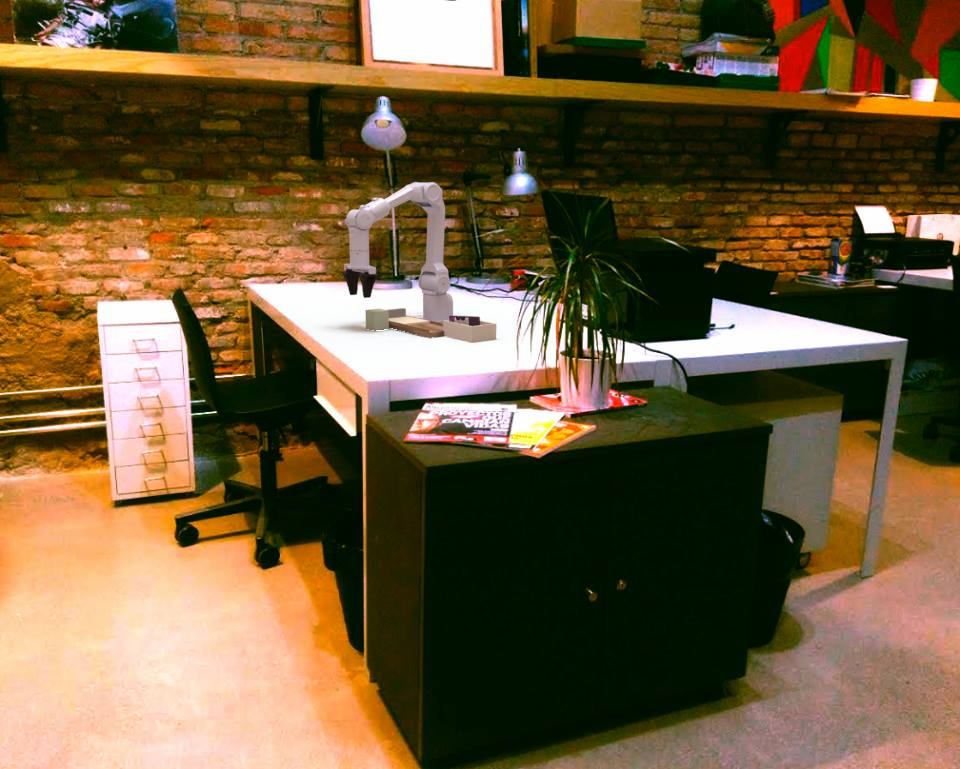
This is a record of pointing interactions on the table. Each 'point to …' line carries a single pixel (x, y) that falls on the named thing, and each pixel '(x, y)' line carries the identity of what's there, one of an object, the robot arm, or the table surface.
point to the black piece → (472, 319)
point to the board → (420, 328)
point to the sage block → (377, 319)
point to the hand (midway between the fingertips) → (360, 296)
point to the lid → (404, 317)
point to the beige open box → (469, 330)
